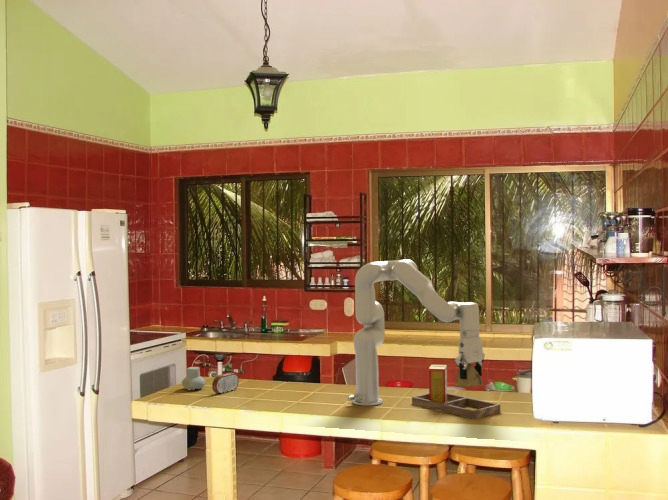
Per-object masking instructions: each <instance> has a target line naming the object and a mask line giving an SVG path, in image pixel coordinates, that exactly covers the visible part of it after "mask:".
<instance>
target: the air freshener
mask: <svg viewBox="0 0 668 500" xmlns="http://www.w3.org/2000/svg"><path fill="white" fill-rule="evenodd" d="M200 370H201V369H200V367H199V366H190V367H187V368H186V374H187V375H186V377H185V378H184V379H182V381H181V385H182V387H183V388H184V389H185V390H187V389H190V390H189V391H196V390H195V389H198V390H201V389H202V388H204V387H205V386H206V380H205V378H204V377H202V376H201V371H200ZM193 389H194V390H193Z"/></svg>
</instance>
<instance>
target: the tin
mask: <svg viewBox="0 0 668 500" xmlns="http://www.w3.org/2000/svg"><path fill="white" fill-rule="evenodd" d="M239 383H240V382H239V376H238V375H237V374H236V373H234V372H227V373H223V374H217V376H215V377H214V379H213V381H212V384H211V386H212V387H211V388H212V391H213V392H214V393H215V394H219V393H222V392H226V391H229V390H233V389H235V390H237V388H238V386H239ZM226 393H227V392H226Z"/></svg>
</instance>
